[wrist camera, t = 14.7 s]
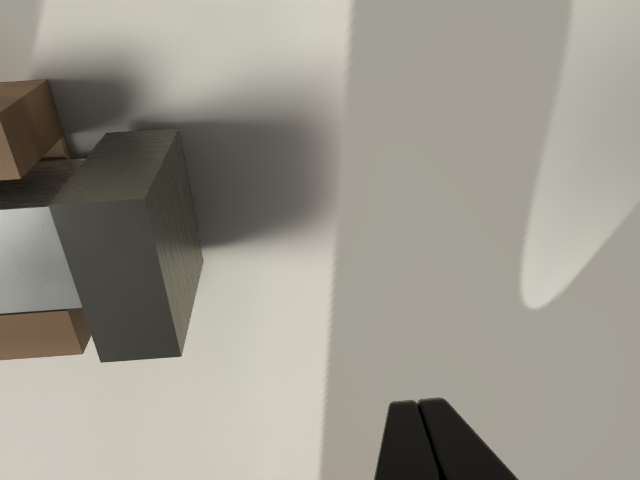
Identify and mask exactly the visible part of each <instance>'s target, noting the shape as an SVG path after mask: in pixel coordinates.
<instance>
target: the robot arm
mask: <svg viewBox="0 0 640 480" xmlns="http://www.w3.org/2000/svg"><path fill="white" fill-rule="evenodd" d="M374 480H518V479H517V478H516V476H515V475H514V474H513V473H512V472H511V471H510V470H509V469H508V468H507V467H506V465H505V464H503V462H502V461H501V460H500V459H499V458H498V457H497V456H496V454H495V453H494V452H493V451H492V450H491V449H490V448H489V447H488V446H487V445H486V444H485V442H484V441H483V440H482V439H481V438H480V437H479V436H478V435H477V434H476V433H475V432H474V430H473V429H472V428H471V427H470V426H469V425H468V424H467V423H466V422H465V421H464V420H463V419H462V417H461V416H460V415H459V414H458V413H457V412H456V411H455V410H454V408H453V407H452V406H451V405H450V404H449V403H448V402H447V401H446V400H445V399H443V398H429V399H420V400H419V401H418V402H417V403H416V402H415V401H414V400H406V401H394V402H391V403H390V405H389V408H388V413H387V418H386V423H385V428H384V433H383V438H382V443H381V448H380V453H379V458H378V463H377V468H376V472H375V477H374Z"/></svg>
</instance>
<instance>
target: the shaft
mask: <svg viewBox="0 0 640 480" xmlns="http://www.w3.org/2000/svg"><path fill="white" fill-rule="evenodd" d="M202 265H203V257H202V251H201V246H200V240H199V235H198V230H197V224H196V219H195V213H194V208H193V203H192V197H191V192H190V186H189V181H188V176H187V170H186V165H185V159H184V154H183V149H182V143H181V138H180V132H179V128H174V129H159V130H143V131H128V132H112V133H106V134H105V135H104V136H103V137H102V139H101V140H100V141H99V142H98V144H97V145H96V146H95V147H94V149H93V150H92V151H91V152H90V154H89V155H88V156H87V157H86V158H83V159H67V160H52V161H38V162H37V163H36V164H35V165H34V166H33V167H32V168H31V169H30V170H29V171H28V172H27V173H26V174H25V175H24V176H23V177H22V178H21V179H12V180H0V314H2V313H16V312H30V311H44V310H58V309H72V308H83V311H84V314H85V317H86V320H87V323H88V326H89V329H90V332H91V335H92V338H93V341H94V344H95V347H96V350H97V353H98V356H99V359H100V362H115V361H128V360H141V359H155V358H168V357H181V356H182V352H183V347H184V343H185V339H186V334H187V330H188V326H189V321H190V317H191V313H192V308H193V304H194V300H195V295H196V291H197V287H198V282H199V278H200V273H201V269H202Z"/></svg>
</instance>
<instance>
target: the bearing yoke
mask: <svg viewBox="0 0 640 480" xmlns="http://www.w3.org/2000/svg"><path fill="white" fill-rule="evenodd" d="M67 159H70V156H69V153H68V149H67V146H66V143H65V139H64V136H63V133H62V129H61V126H60V123H59V119H58V116H57V113H56V109H55V106H54V103H53V99H52V96H51V92H50V89H49V86H48V82H47V80H32V81H17V82H0V180H12V179H21V178H22V177H23V176H24V175H25V174H26V173H27V172H28V171H29V170H30V169H31V168H32V167H33V166H34V165H35V164H36V163H37V162H38V161H52V160H67ZM90 337H91V332H90V329H89V326H88V323H87V320H86V317H85V314H84V311H83V308H72V309H58V310H44V311H30V312H16V313H2V314H0V360H10V359H24V358H37V357H51V356H64V355H78V354H83V353H84V350H85V348H86V346H87V344H88V342H89V339H90Z"/></svg>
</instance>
